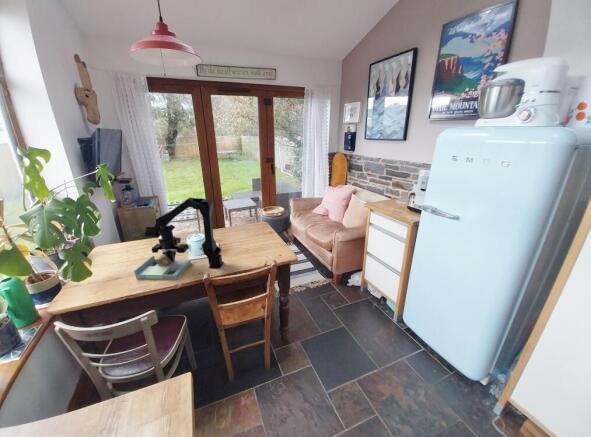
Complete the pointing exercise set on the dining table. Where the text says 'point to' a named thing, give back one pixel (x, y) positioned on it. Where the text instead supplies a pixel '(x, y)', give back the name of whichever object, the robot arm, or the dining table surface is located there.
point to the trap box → (161, 269)
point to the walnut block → (163, 260)
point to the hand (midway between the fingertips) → (173, 261)
